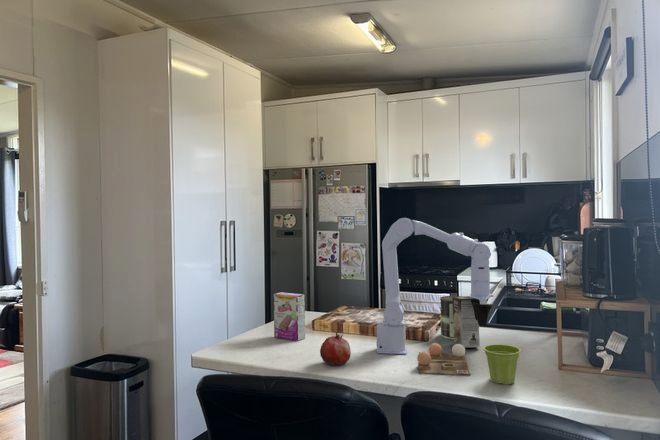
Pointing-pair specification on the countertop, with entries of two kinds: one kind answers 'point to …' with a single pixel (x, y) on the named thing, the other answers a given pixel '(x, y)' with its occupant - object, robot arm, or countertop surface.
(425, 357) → the terracotta ball
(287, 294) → the candy bar box
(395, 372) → the countertop surface
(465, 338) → the coffee box
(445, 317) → the coffee can
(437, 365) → the board
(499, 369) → the plant pot
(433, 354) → the terracotta ball
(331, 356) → the fruit
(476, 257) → the robot arm
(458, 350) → the cream ball
